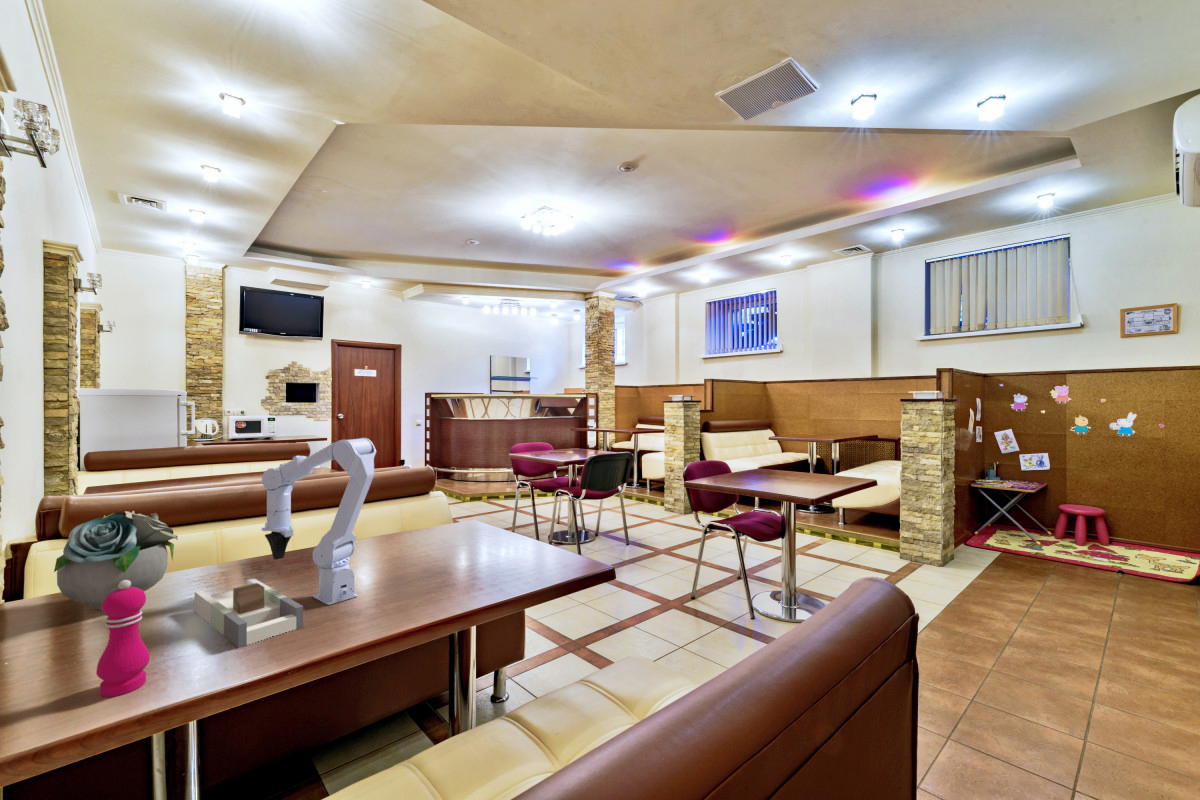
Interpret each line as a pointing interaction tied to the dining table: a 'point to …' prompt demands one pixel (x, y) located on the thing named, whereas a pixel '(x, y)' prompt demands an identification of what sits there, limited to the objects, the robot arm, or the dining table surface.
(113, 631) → the pepper mill
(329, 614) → the dining table surface
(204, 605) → the tray
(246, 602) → the walnut block
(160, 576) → the flower arrangement
